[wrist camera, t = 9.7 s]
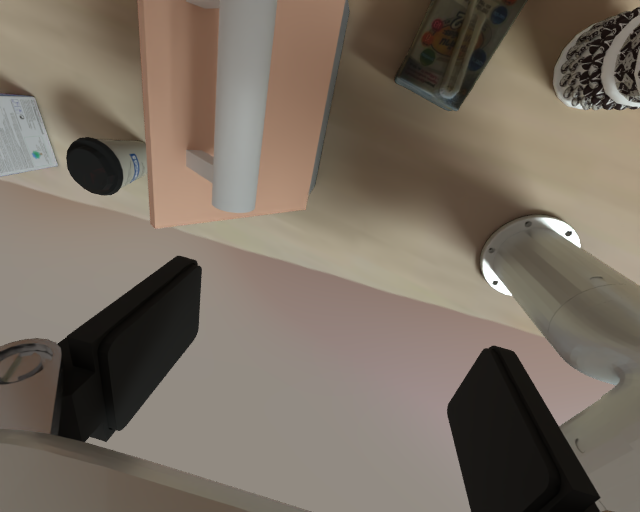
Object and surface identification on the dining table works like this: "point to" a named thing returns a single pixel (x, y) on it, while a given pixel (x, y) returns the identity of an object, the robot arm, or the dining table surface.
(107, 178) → the coffee cup
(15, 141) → the ink cartridge box
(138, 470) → the robot arm
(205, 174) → the flap
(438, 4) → the beverage carton
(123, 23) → the dining table surface
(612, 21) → the decorative candle
